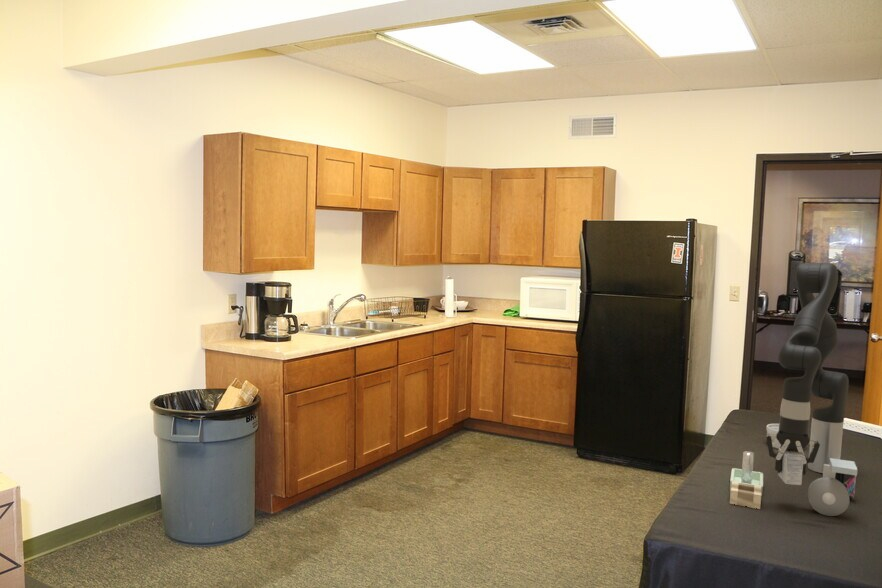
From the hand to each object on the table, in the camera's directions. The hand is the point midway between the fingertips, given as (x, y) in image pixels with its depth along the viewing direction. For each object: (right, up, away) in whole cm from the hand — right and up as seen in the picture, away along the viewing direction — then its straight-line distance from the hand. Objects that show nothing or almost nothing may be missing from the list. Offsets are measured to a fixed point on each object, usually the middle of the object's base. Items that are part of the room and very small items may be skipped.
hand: (789, 473), depth 202 cm
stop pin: (-5, -7, +16) cm, 19 cm away
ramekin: (+28, -6, +60) cm, 67 cm away
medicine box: (0, -2, 0) cm, 2 cm away
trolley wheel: (+10, -10, -3) cm, 14 cm away
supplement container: (+20, -10, +10) cm, 25 cm away
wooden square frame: (-11, -9, +3) cm, 15 cm away
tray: (-5, -8, +16) cm, 19 cm away
